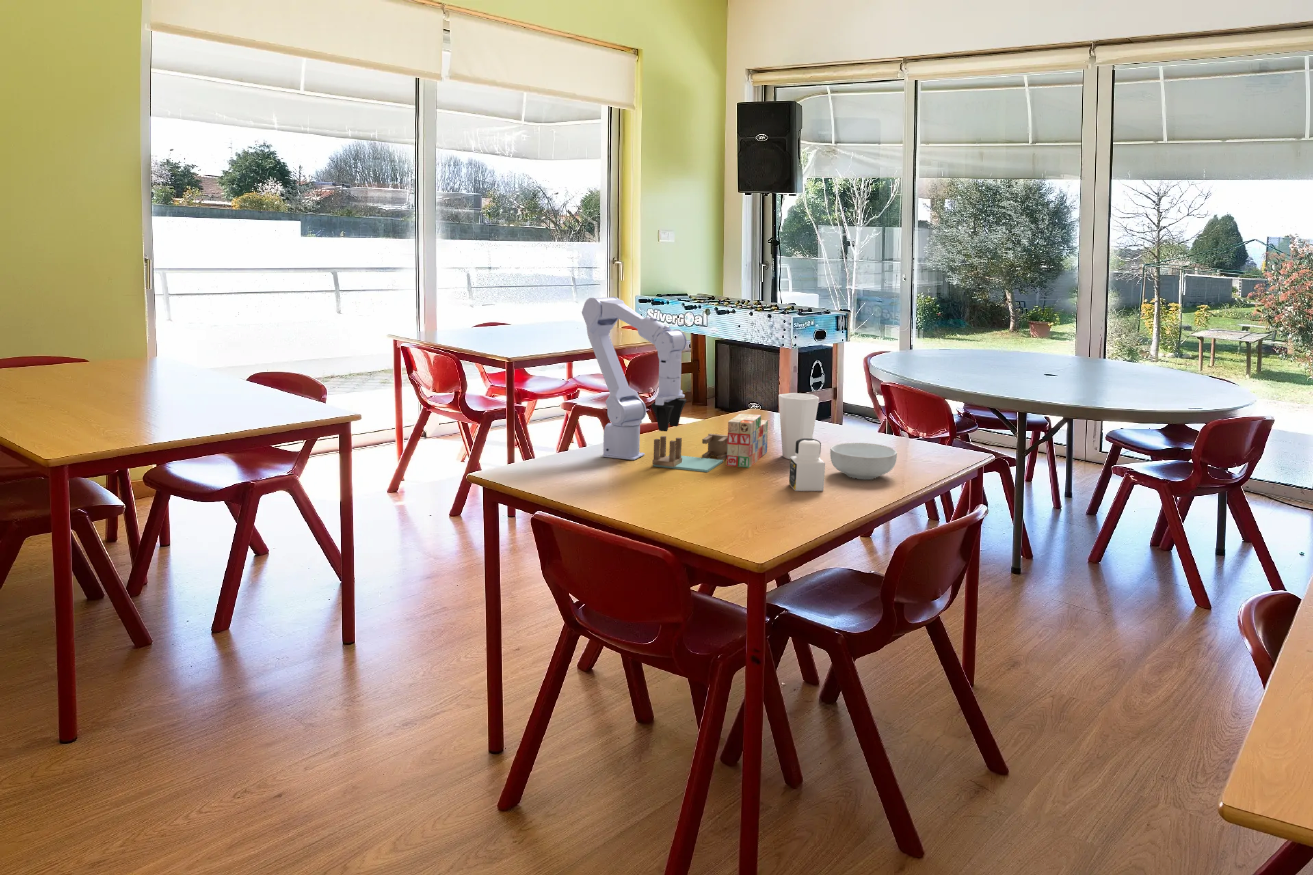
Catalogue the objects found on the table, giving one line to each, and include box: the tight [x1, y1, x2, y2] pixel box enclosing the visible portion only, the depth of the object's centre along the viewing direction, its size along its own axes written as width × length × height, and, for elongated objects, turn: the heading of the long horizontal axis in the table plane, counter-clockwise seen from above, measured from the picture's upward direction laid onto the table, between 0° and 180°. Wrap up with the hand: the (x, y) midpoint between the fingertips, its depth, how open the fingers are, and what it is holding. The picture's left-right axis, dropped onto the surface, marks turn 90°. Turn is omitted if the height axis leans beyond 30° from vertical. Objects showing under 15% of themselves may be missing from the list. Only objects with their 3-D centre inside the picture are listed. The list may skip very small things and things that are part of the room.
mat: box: [652, 455, 724, 473], centre depth 280 cm, size 15×13×1 cm
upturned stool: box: [652, 435, 682, 467], centre depth 277 cm, size 6×6×7 cm
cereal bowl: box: [829, 442, 898, 480], centre depth 271 cm, size 17×17×7 cm
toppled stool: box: [701, 433, 728, 461], centre depth 288 cm, size 6×6×7 cm
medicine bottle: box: [788, 438, 826, 492], centre depth 257 cm, size 7×7×12 cm
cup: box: [778, 392, 820, 460], centre depth 290 cm, size 11×10×17 cm
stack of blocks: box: [726, 413, 769, 469], centre depth 287 cm, size 21×6×12 cm, turn 161°
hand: (668, 428), depth 276 cm, fingers open, 7 cm apart
